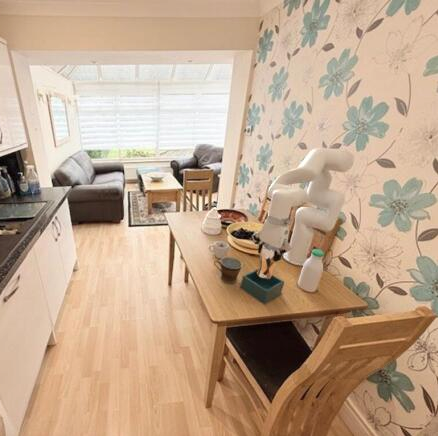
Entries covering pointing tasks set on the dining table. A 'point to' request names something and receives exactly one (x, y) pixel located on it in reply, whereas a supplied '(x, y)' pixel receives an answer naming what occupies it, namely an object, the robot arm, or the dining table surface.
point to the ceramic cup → (229, 269)
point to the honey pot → (212, 222)
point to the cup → (219, 249)
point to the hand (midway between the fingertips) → (268, 256)
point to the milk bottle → (311, 271)
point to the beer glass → (266, 261)
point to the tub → (262, 286)
